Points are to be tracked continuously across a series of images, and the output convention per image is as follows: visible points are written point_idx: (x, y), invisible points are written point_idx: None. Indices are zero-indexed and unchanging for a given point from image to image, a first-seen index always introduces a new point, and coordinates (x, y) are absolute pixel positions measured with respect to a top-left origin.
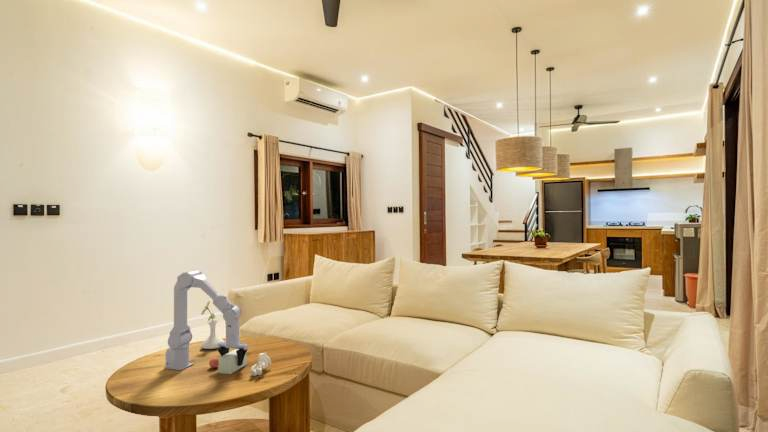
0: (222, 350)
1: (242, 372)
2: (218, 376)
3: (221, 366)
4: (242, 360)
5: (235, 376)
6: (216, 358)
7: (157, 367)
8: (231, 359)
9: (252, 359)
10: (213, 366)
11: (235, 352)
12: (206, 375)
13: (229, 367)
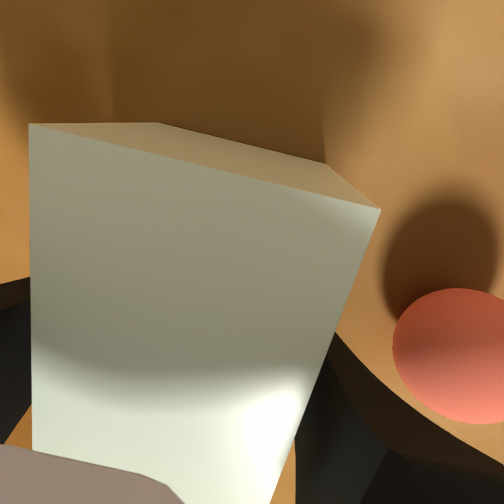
0: (377, 469)
1: None
2: (278, 34)
3: (289, 164)
4: None
5: (54, 45)
6: (461, 389)
7: None
8: (46, 165)
9: None
10: (446, 290)
11: (152, 476)
12: (462, 65)
13: (140, 125)
